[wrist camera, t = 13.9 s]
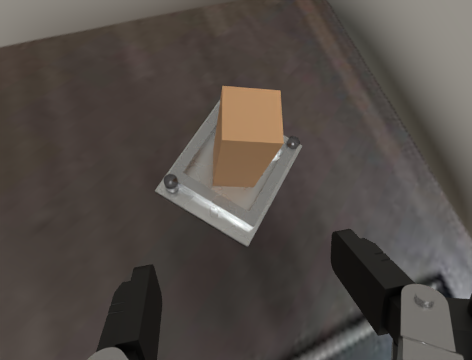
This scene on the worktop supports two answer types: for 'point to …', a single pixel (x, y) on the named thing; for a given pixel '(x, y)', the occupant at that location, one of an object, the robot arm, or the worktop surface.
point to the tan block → (246, 135)
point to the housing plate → (221, 197)
